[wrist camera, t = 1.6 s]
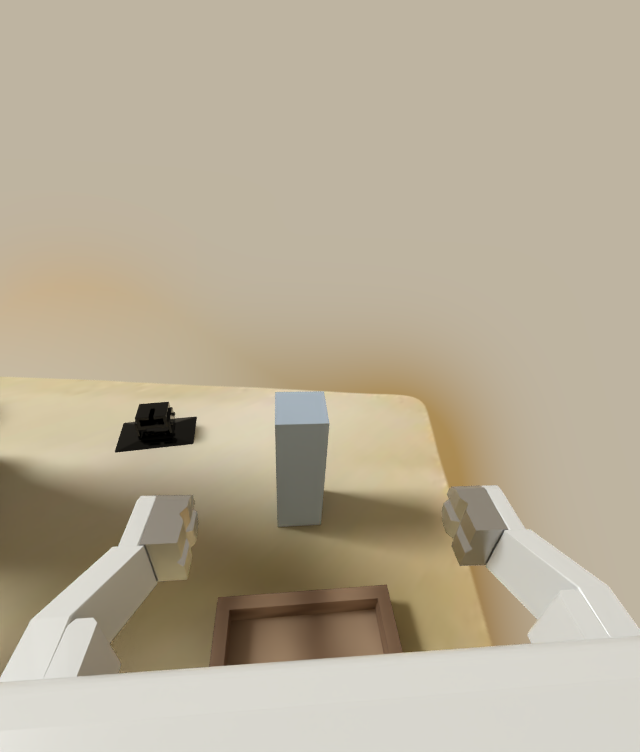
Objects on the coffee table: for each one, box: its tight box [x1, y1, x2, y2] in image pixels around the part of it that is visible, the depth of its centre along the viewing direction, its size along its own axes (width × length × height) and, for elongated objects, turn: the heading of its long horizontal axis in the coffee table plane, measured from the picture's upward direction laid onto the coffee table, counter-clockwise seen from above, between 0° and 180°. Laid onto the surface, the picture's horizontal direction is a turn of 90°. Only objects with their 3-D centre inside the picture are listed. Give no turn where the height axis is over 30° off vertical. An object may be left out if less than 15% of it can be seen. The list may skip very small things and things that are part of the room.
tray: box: [209, 585, 403, 667], centre depth 25 cm, size 14×14×2 cm
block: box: [275, 392, 329, 527], centre depth 36 cm, size 4×4×14 cm
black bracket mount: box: [115, 402, 197, 452], centre depth 48 cm, size 12×7×5 cm, turn 102°
